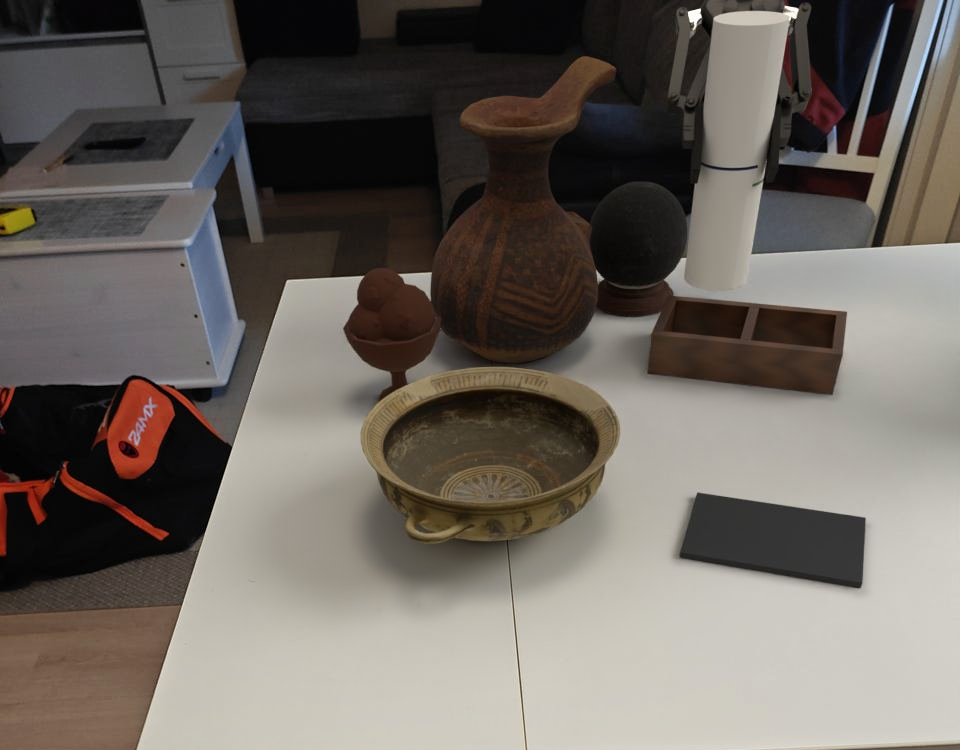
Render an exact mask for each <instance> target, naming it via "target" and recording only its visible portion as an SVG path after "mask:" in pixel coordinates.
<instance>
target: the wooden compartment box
mask: <svg viewBox="0 0 960 750" xmlns="http://www.w3.org/2000/svg"><path fill="white" fill-rule="evenodd" d="M659 313H660V314H659V315H658V318H657V320H656V322H655V325H654V327H653V329H652V332H651V334H650V341H649V350H648V351H649V353H648V363H647V374H652V375H653V374H654V375H659V376H660V375H661V376H669V377H676V378H685V379H695V380H703V381H712V382H719V383H720V382H721V383H729V384H736V385H738V384H739V385H748V386H755V387H764V388H772V389H781V390H790V391H798V392H807V393H813V394H815V393H816V394H823V395H824V394H825V395H833V394H834V390H835V387H836V382H837V378H838V375H839V371H840V367H841V363H842V359H843V356H844V355H843V354H844V349H845V339H846V329H847V328H846V327H847V318H848V311H844V310H833V309H824V308H822V309H821V308H811V307H800V306H789V305H781V304H778V305H777V304H767V303H757V302H745V301H736V300H726V299H725V300H724V299H714V298H713V299H712V298H705V297H703V298H702V297H691V296H680V295H673V296H671V295H668V297H667V300H666V302H665V304H664V306H663V309H662V311H661V312H659Z"/></svg>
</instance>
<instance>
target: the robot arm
mask: <svg viewBox="0 0 960 750" xmlns="http://www.w3.org/2000/svg"><path fill="white" fill-rule="evenodd" d="M811 10H812V6H811V4H810V2H802V3H800V5H799V7H793V6H789V5H786V4H785V1H784V0H704V1H703V3H702V4H701V6H700V8H698V9H694V10H688V8H687V7H686V6H685V7H684V6H681V7H678V8H677V9H676V12H675V19H674V26H673V33H674V37H675V42H676V46H675V52H674V57H673V63H672V69H671V75H670V79H669V86H668V91H667V99H666V106H665V113H666V114H667V115H668V116H674V115H677V116H679V117H680V118H681V122H682V123H681V124H682V125H681V126H682V127H681V146H682V149H691V159H690V163H691V164H690V177H689V178H690V179H689V180H690V181H689V183H690V184H694V185H695V183H698V179H699V174H700V170H701V152H702V132H703V110H704V106H700V104H701V102H702V99H703V96H705V89H706V80H707V72H708V63H709V54H710V45H711V40H710V41H709V44H708V46H707V49H706V52H705V53H704V56H703V58H702V61H701V63H700V65H699V68H698V70H697V72H696V75H695V77H694V78H693V81H692V84H691V86H690V88H689V91H688V93H687V95H686V96H685V95H682V94H681V91H682V90H681V89H682V86H683V79H684V73H685V67H686V62H687V56H688V51H689V44H690V39H691V38H693V37H694V36H695V34H696V32H697V27H698V26H699V25H700V26H701V27H702V28H703V29H704V31H705V33H706V34H707V35H708V37H709V38H710V39H711V36H712V27H713V19H714V17H716V16H718V15H721V14H725V13H731V12H740V11H770V12H778V13H783V14H786V15H788V16H789V17H790V21H789V27H788V33H787V36H789V42H788V49H789V60H790V61H789V62H790V75H791V85H792V86H790V84H789V81H788V78H787V75H786V72H785V70H784V67H783V66H782V69H781V75H780V82H779V88H778V94H777V100H776V106H775V112H774V118H773V124H772V130H771V136H770V142H769V149H768V155H767V161H766V167H765V183H774V181H775V178H776V176H777V174H778V171H779V168H780V151H781V150H780V149H781V148H786V146H787V145H788V142H789V140H790V137H791V134H792V133H791V132H792V116H793V114H794V113H803V112H804V111H806V109H807V106H808V103H809V101H810V99H811V96H812V94H813V88H812V76H811V63H810V52H809V40H808V39H809V38H808V28H807V27H808V26H807V25H808V21H809V18H810V15H811ZM791 87H792V89H791Z"/></svg>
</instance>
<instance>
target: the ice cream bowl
mask: <svg viewBox="0 0 960 750" xmlns="http://www.w3.org/2000/svg"><path fill="white" fill-rule="evenodd" d="M356 300H357V305H356V306H355V307H354V308H353V309H352V311H351V313H350V314H349V317H348V320H347V321H346V323H345V324H344V326H343V327H342V330H343V332H344V335H345V338H346V340H347V342H348V344H349V345H350V347H351V348H352V349H353V351H354V352H355V353H356V354H357V356H358V357H359V358H360V359H361V361H363V362H365V363H366V364H367V365H369V366H370V367H372V368H375V369H377V370H380V371H384V372H389V374H390V378H391V385H390V386H388V387H386V388H384V389H382V391H381V392H380V394H379V396H378V400H377V403H378V402H379V401H381V400H382V399H383V398H385V397H386V396H388V395H389V394H391V393H392V392H394V391H396V390H398V389H400V388H402V387H404V386H406V385H408V384H409V383H408V382H407V381H408V380H407V374H406V372H407V371H408V370H410V369H412V368H414V367H416V366H417V365H419V364H420V363H423V362H424V360H426V358H427V357H429V355H430V354H431V352H432V350H433V348H434V346H435V344H436V342H437V340H438V337H439V334H440V331H441V328H440V324H441V318H440V317H439V316H438V315H437V314H436V313H435V311H434V307H433V304H432V303H431V299H430V298H429V297H428V295H427V294H426V291H424V290H423V289H420V287H417V286H416V285H415V284H410V283H405V280H404V278H403V277H402V276H401V275H400V274H398V273H397V272H396V271H394V270H392V269H390V268H387V267H378V268H374V269H372V270H370V271H368V272H367V273H366V274H365V275H364V276H363V277H362V279H361V280H360V282H359V283H358V286H357V290H356Z"/></svg>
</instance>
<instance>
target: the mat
mask: <svg viewBox="0 0 960 750" xmlns="http://www.w3.org/2000/svg"><path fill="white" fill-rule="evenodd" d="M866 521H867V518H866V517H865V516H857V515H852V514H844V513H839V512H838V513H836V512H831V511H824V510H817V509H811V508H805V507H797V506H792V505H791V506H790V505H784V504H778V503H770V502H766V501H765V502H764V501H758V500H752V499H744V498H737V497H731V496H725V495H719V494H711V493H704V492H696V495H695V498H694V503H693V506H692V510H691V512H690V517H689V520H688V524H687V527H686V531H685V534H684V538H683V542H682V545H681V548H680V552H679V558H684V559H689V560H695V561H699V562H707V563H713V564H720V565H725V566H730V567H736V568H742V569H748V570H752V571H753V570H755V571H759V572H766V573H772V574H778V575H784V576H790V577H795V578H801V579H807V580H813V581H819V582H825V583H831V584H835V585H836V584H837V585H842V586H849V587H854V588H862V585H863V580H864V562H865V561H864V559H865V557H864V556H865V541H866Z"/></svg>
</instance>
